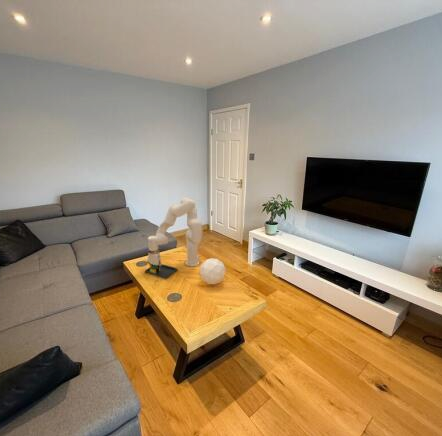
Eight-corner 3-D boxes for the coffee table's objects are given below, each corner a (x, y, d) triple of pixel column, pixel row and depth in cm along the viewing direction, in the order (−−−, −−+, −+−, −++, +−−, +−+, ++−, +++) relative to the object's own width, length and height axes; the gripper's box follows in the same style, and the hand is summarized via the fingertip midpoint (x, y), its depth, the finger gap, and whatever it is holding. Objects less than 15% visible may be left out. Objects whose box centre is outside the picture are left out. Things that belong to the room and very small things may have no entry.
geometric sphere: (206, 291, 179) (190, 272, 175) (218, 273, 192) (203, 255, 188) (222, 289, 165) (205, 269, 161) (234, 269, 179) (219, 250, 175)
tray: (157, 265, 206) (157, 262, 205) (177, 270, 197) (177, 268, 196) (144, 273, 192) (144, 270, 192) (166, 279, 183) (166, 277, 183)
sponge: (155, 269, 197) (155, 263, 196) (160, 270, 195) (159, 265, 194) (150, 273, 191) (149, 267, 190) (154, 274, 189) (154, 268, 188)
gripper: (165, 251, 188) (166, 271, 193) (148, 247, 195) (150, 267, 200) (159, 254, 181) (160, 275, 186) (142, 250, 188) (144, 271, 194)
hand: (155, 271), depth 193 cm, fingers closed on sponge, 4 cm apart
